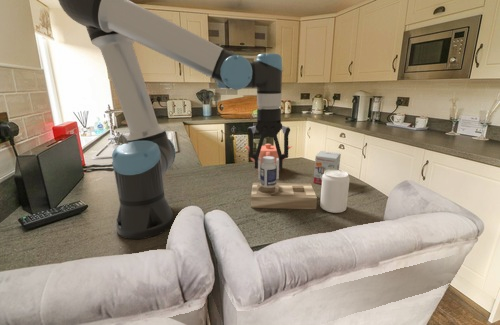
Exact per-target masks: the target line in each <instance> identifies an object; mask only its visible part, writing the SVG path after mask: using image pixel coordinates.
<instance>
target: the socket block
mask: <svg viewBox="0 0 500 325" xmlns="http://www.w3.org/2000/svg"><path fill="white" fill-rule="evenodd" d="M317 202H318V197H317V195H316V192H315V190H314V188H313V186H312V183H288V182H287V183H286V182H285V183H284V182H283V183H282V182H276V186H275V187H272V188H266V187H262V186H261V182H252V188H251V194H250V208H251V209H286V210H287V209H289V210H291V209H293V210H317Z"/></svg>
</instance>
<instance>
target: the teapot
mask: <svg viewBox="0 0 500 325" xmlns="http://www.w3.org/2000/svg"><path fill="white" fill-rule="evenodd" d="M292 147H293V146H291V145H290V146H289V145H288V151H289V149H291V148H292ZM243 148H245V149H247V151H248V152H249V146H245V145H244V146H243ZM282 154H284V152H283V153H282ZM266 156H272V157H274V158H275V162H274V163H275V164H276V158H279V157H278V153H277V149H276V146H275V145H272V144H271V143H265V144H264V145H262V147H261V151H260V154H259V158H261V164H262V163H263V157H266ZM286 159H287V158H284V159H283V162H284V161H285V160H286ZM250 160H251V161H252V162H253V163H255V160H254V159H253V158H250ZM256 170H257V171H258V169H256Z"/></svg>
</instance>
